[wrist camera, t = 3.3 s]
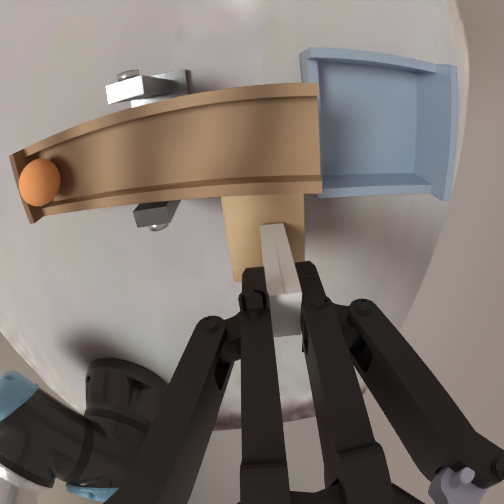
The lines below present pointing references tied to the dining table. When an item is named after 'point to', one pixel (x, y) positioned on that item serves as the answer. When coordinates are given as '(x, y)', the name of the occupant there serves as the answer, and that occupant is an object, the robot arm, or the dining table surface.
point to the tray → (383, 122)
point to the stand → (143, 93)
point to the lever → (197, 161)
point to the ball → (39, 182)
